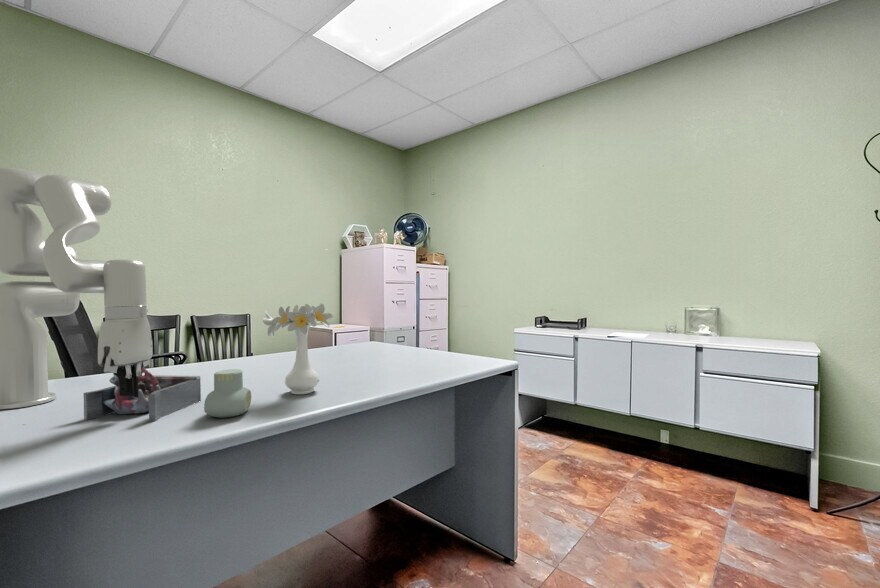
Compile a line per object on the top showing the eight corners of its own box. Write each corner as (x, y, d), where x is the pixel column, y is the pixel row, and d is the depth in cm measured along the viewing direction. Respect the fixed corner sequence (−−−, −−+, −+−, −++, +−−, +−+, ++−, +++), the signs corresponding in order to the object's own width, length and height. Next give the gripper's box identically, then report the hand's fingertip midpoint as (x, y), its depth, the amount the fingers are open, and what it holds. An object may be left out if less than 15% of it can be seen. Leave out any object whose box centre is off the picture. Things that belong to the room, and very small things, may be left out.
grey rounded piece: (216, 409, 98) (215, 368, 97) (253, 406, 100) (252, 366, 100) (201, 423, 87) (200, 377, 87) (243, 420, 89) (242, 375, 89)
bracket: (82, 420, 90) (81, 390, 90) (142, 399, 106) (142, 375, 106) (153, 421, 88) (153, 391, 88) (204, 401, 104) (203, 375, 104)
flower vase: (267, 389, 116) (266, 303, 116) (332, 384, 121) (331, 302, 121) (261, 401, 104) (259, 305, 103) (334, 395, 109) (333, 303, 109)
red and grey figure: (142, 406, 90) (113, 363, 91) (109, 435, 91) (81, 393, 92) (182, 393, 101) (156, 356, 102) (153, 420, 102) (127, 383, 103)
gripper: (139, 313, 99) (141, 387, 99) (78, 316, 84) (81, 404, 84) (167, 312, 98) (169, 387, 98) (111, 315, 83) (114, 404, 83)
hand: (129, 394), depth 91 cm, fingers closed
